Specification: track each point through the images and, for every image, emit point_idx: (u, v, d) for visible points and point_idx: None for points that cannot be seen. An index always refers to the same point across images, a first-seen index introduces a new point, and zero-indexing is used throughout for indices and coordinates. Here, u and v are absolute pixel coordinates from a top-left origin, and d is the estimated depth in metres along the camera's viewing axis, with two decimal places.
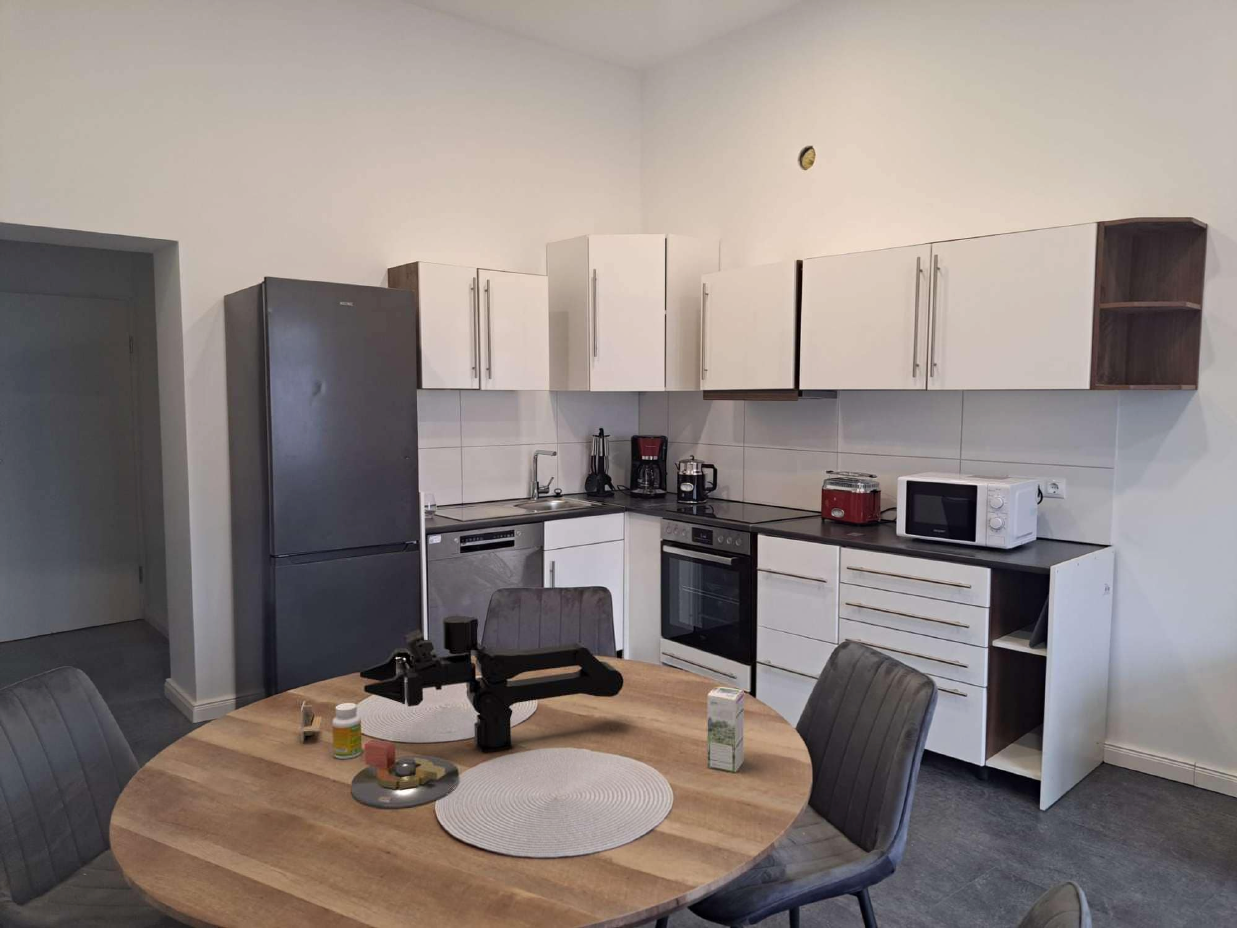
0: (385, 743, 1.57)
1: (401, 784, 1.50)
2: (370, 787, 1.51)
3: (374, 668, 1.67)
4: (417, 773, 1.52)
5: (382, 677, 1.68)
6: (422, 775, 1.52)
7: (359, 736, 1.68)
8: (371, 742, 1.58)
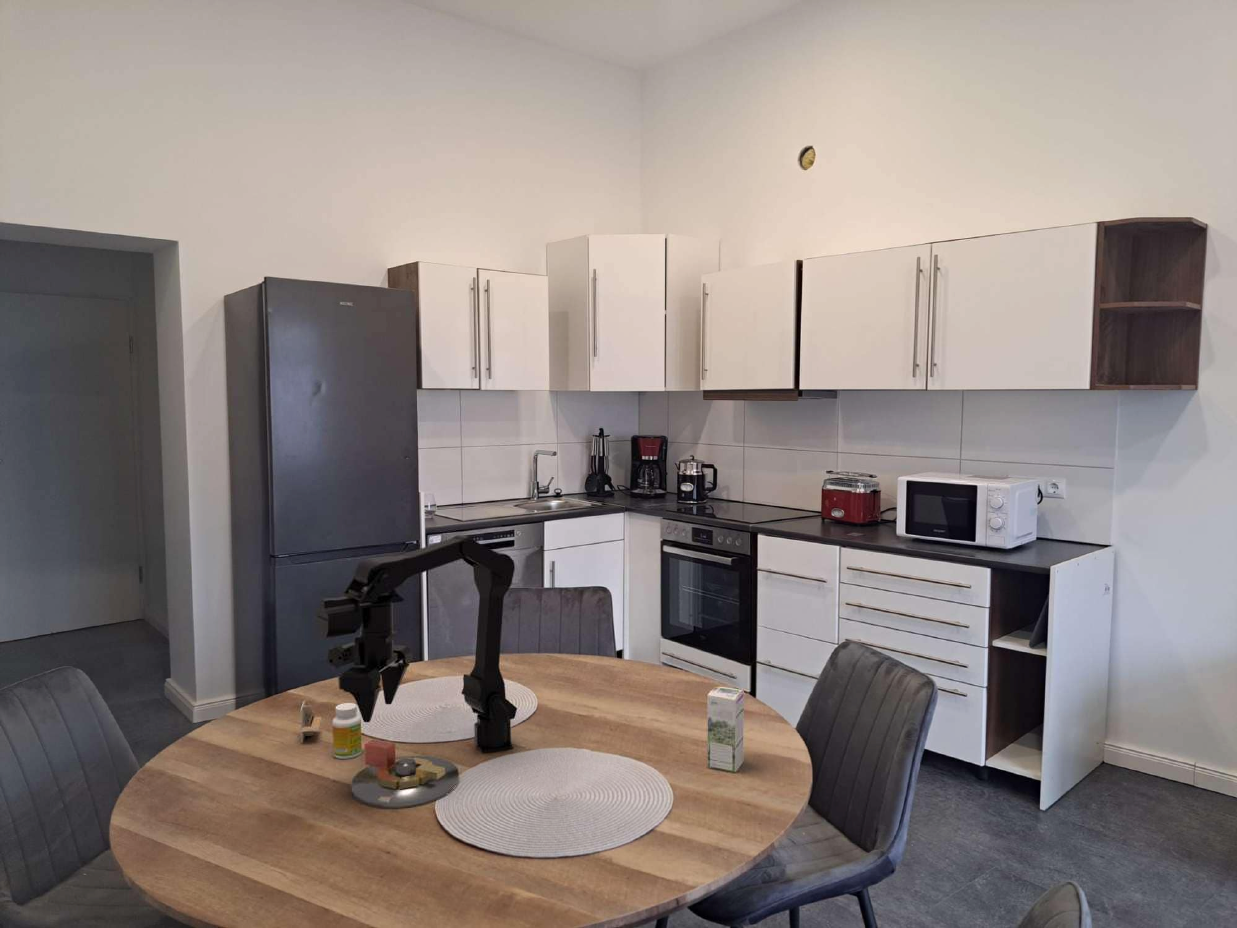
0: (385, 743, 1.57)
1: (401, 784, 1.50)
2: (370, 787, 1.51)
3: (384, 689, 1.59)
4: (417, 773, 1.52)
5: (394, 681, 1.59)
6: (422, 775, 1.52)
7: (359, 736, 1.68)
8: (371, 742, 1.58)
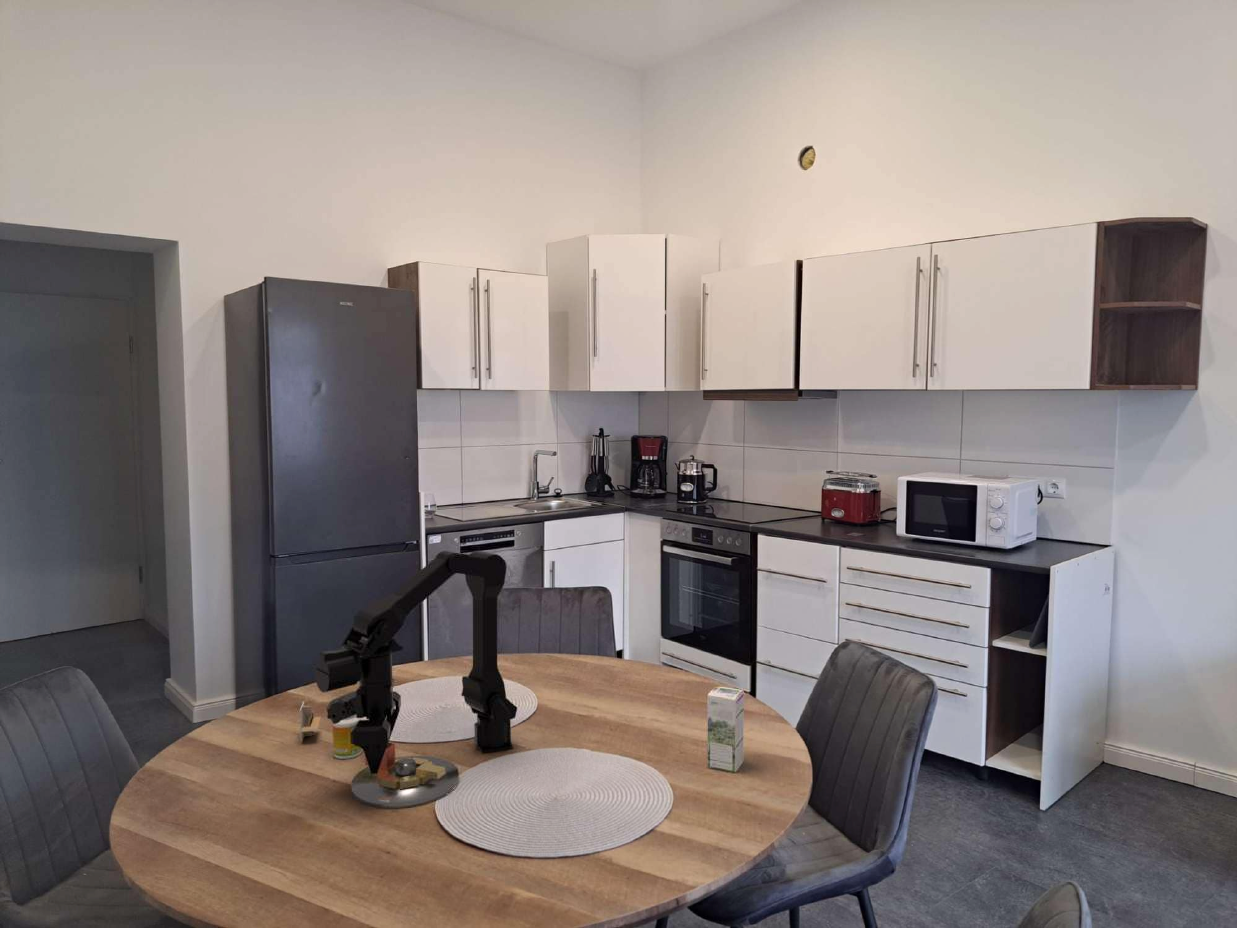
0: None
1: (401, 784, 1.50)
2: (370, 787, 1.51)
3: None
4: (417, 773, 1.52)
5: None
6: (423, 775, 1.52)
7: None
8: None
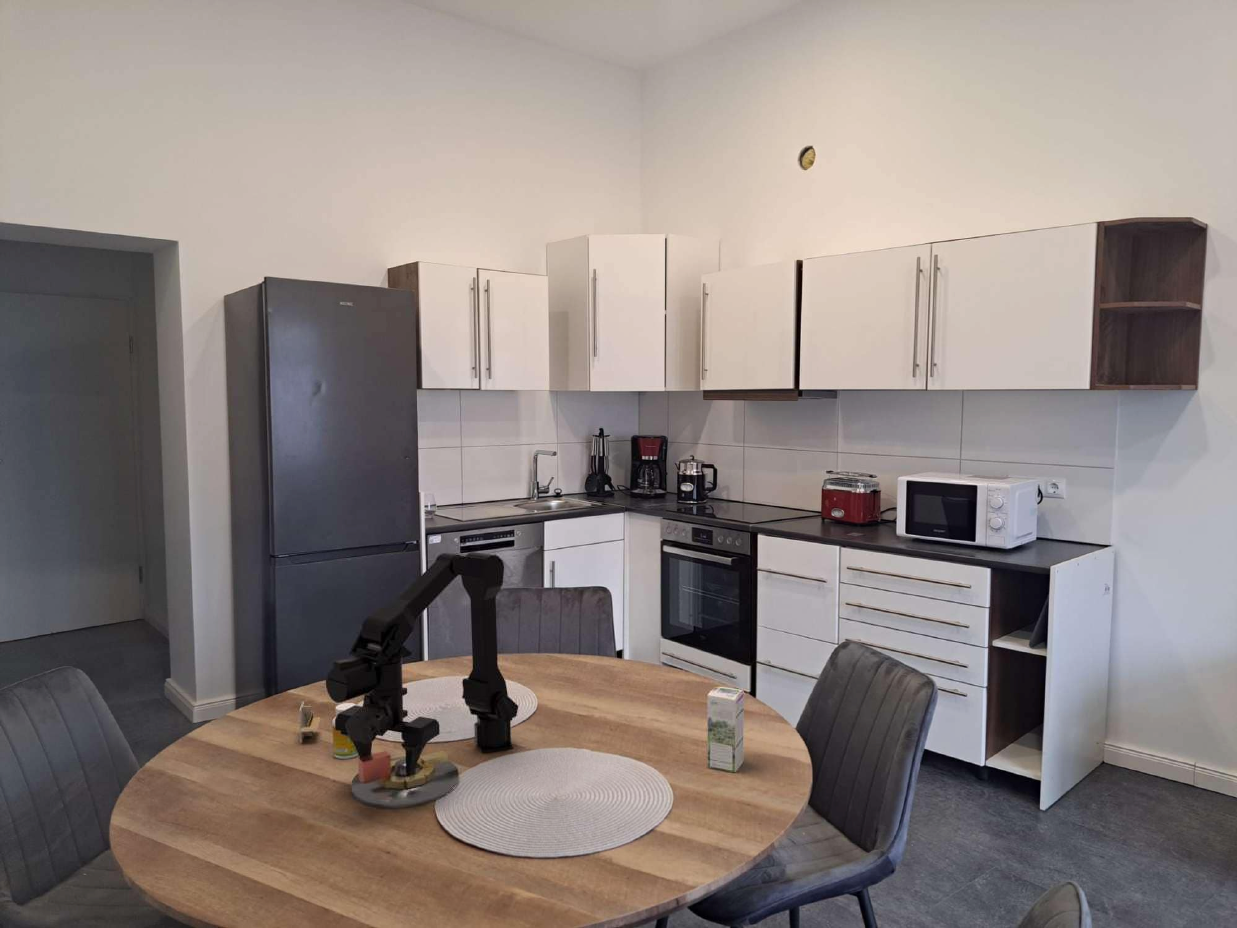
0: (378, 754, 1.52)
1: (428, 776, 1.53)
2: (370, 787, 1.51)
3: (363, 753, 1.51)
4: (426, 764, 1.56)
5: None
6: (432, 764, 1.57)
7: None
8: (364, 759, 1.50)
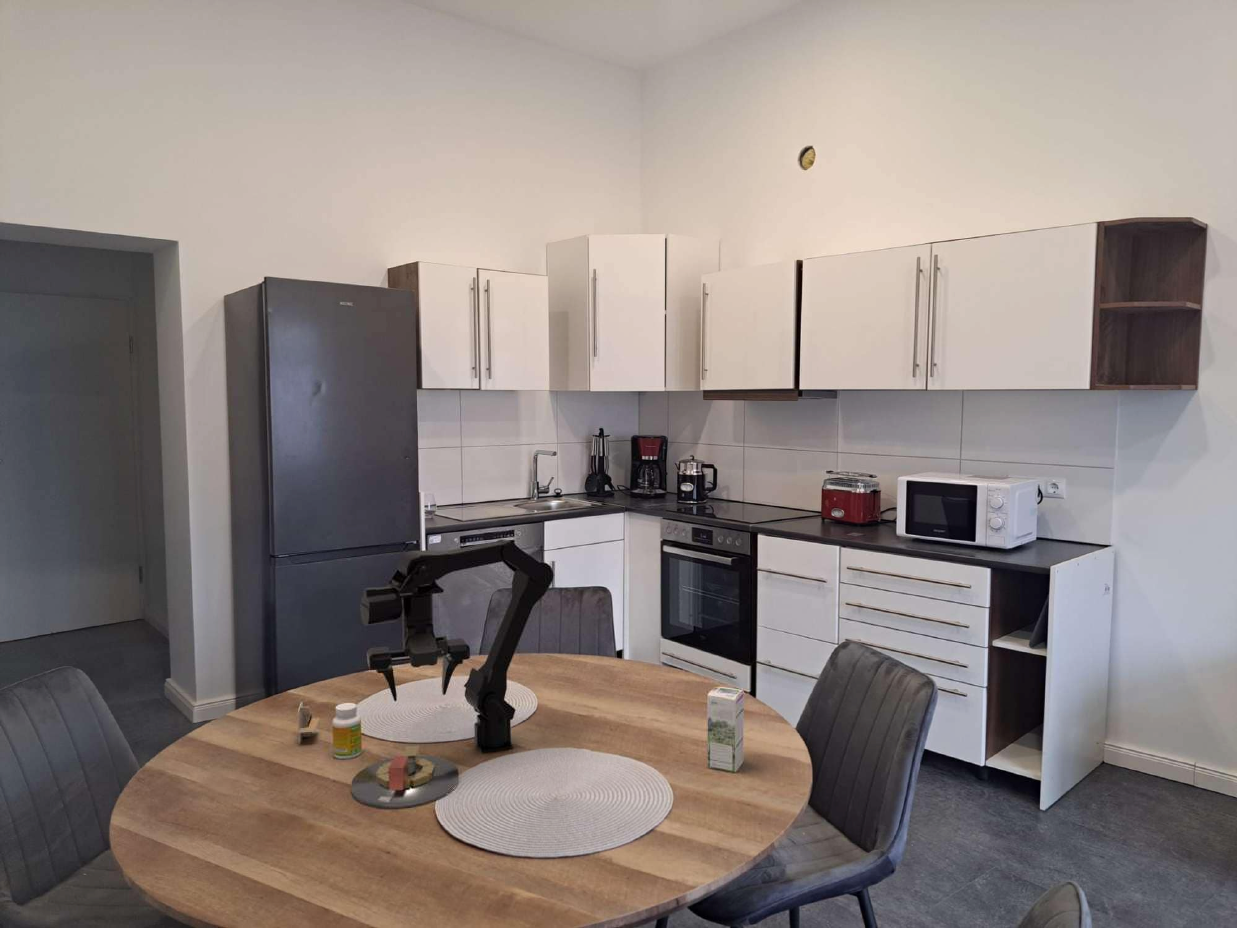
0: (396, 760, 1.50)
1: None
2: (370, 787, 1.51)
3: None
4: (415, 759, 1.58)
5: None
6: (416, 757, 1.60)
7: (359, 736, 1.68)
8: (396, 766, 1.47)
